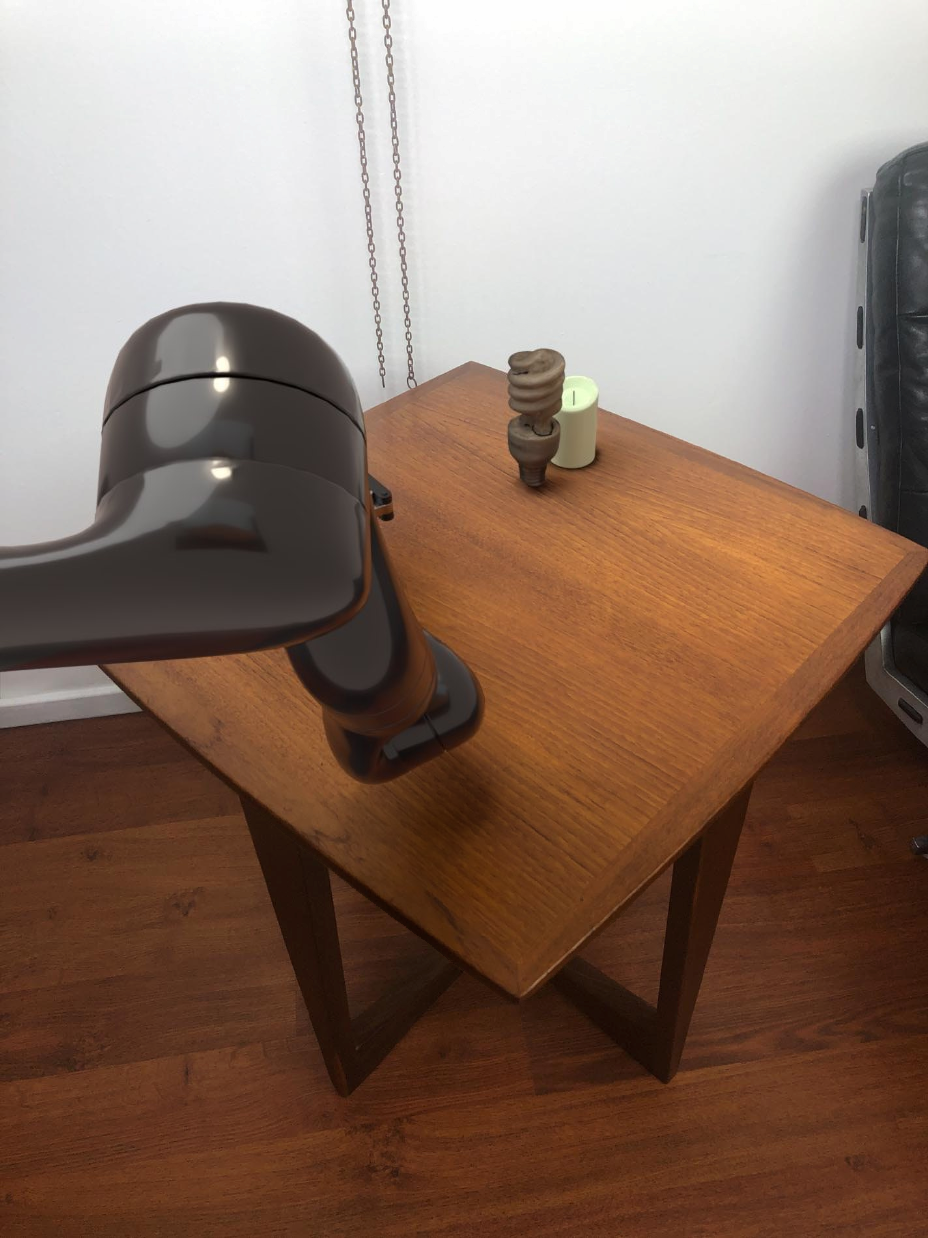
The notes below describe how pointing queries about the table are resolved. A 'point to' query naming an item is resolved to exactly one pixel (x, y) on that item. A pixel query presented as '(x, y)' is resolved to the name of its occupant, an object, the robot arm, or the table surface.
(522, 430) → the light bulb
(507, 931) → the table surface
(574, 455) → the candle
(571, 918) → the table surface
